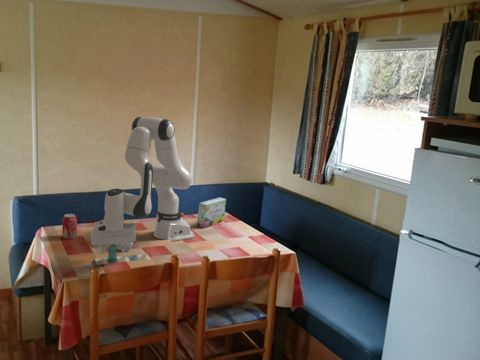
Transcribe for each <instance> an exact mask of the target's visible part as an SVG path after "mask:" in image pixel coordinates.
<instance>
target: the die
mask: <svg viewBox="0 0 480 360" xmlns="http://www.w3.org/2000/svg"><path fill="white" fill-rule="evenodd" d="M114 245H115V246H116V249H117V251H120V252H121V247H123V246H124V243H122V244H114ZM133 246H134V243H128V245H127V247H126V248H125V252H129V251H130V250H131V249H132V247H133Z"/></svg>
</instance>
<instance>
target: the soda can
mask: <svg viewBox="0 0 480 360" xmlns="http://www.w3.org/2000/svg"><path fill="white" fill-rule="evenodd" d="M77 234H78V218H77V215H76V214H75V213H66V214H64V215H63V217H62V237H63V239H64V238H65V239H67V240H72V239H75V238H76V237H77Z"/></svg>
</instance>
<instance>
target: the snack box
mask: <svg viewBox="0 0 480 360" xmlns="http://www.w3.org/2000/svg"><path fill="white" fill-rule="evenodd" d="M226 204H227V199H226V198H223V197H220V196H219V197H215V198H212V199H209V200H205V201H200V202H199V203H198V212H197V222H196V227H198V228H201V229H206V228H208V227H212V226H215V225H218V224H220V222H221V223H224V222H223V221H224V220H225V212H226ZM217 223H218V224H217ZM214 224H215V225H214Z"/></svg>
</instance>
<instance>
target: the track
mask: <svg viewBox="0 0 480 360" xmlns="http://www.w3.org/2000/svg"><path fill="white" fill-rule="evenodd" d="M146 260H151V258H150V256H149V255H148V254H147V253H144V254H131V255H120V256H116V261H113V262H111V261H109V260H108V257H100V258H93V261H92V262H93V264H94V266H95V268H101V267H105V266H104V265H105V264H113V263H114V264H115V263H123V262H125V263H126V262H132V261H135V262H137V261H146Z"/></svg>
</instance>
